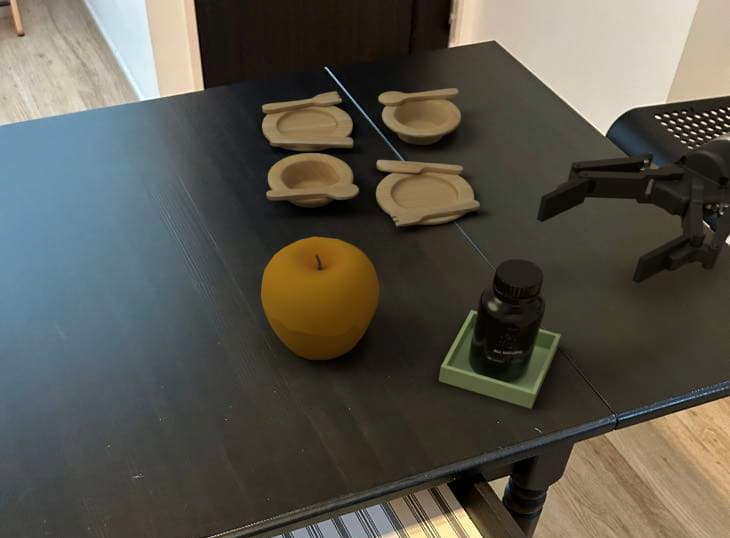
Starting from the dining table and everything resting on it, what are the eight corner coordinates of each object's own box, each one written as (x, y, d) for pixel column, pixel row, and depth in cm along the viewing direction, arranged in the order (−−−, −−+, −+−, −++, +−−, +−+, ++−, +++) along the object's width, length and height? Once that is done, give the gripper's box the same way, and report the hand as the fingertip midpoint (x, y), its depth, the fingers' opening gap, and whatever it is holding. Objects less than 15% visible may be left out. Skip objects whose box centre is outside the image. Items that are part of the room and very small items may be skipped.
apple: (248, 322, 97) (240, 236, 88) (348, 294, 100) (350, 208, 91) (290, 392, 90) (287, 306, 81) (396, 359, 93) (404, 273, 84)
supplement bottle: (494, 393, 89) (514, 302, 79) (455, 357, 92) (470, 266, 83) (542, 370, 91) (567, 278, 82) (502, 336, 95) (522, 244, 85)
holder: (555, 351, 94) (561, 334, 92) (530, 411, 88) (535, 394, 86) (468, 327, 96) (471, 309, 94) (438, 383, 91) (440, 366, 89)
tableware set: (263, 106, 127) (261, 78, 124) (451, 103, 128) (454, 75, 125) (259, 239, 107) (257, 210, 103) (484, 235, 107) (489, 206, 104)
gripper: (800, 255, 90) (671, 330, 82) (626, 159, 102) (499, 217, 95) (834, 191, 84) (698, 265, 76) (644, 97, 96) (511, 153, 89)
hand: (588, 238), depth 86 cm, fingers open, 13 cm apart
